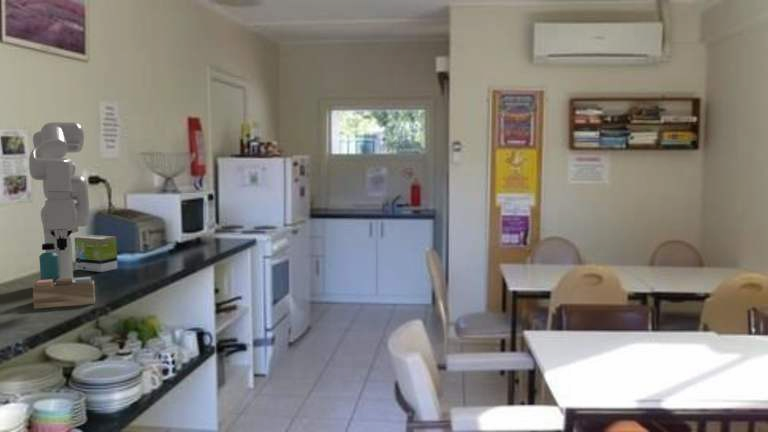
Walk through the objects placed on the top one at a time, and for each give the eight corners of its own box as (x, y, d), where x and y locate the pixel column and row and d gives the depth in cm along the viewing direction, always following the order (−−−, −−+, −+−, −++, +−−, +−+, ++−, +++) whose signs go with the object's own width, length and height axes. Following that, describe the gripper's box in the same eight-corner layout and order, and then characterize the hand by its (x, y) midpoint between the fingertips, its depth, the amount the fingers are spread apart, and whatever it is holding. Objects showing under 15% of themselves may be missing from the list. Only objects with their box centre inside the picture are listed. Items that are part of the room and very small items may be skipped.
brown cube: (58, 293, 241) (57, 278, 241) (72, 292, 243) (71, 278, 242) (56, 295, 237) (55, 281, 236) (71, 294, 238) (70, 280, 238)
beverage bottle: (53, 301, 245) (50, 244, 243) (36, 300, 246) (33, 244, 244) (65, 297, 251) (62, 242, 249) (49, 297, 252) (46, 241, 250)
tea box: (75, 270, 309) (73, 237, 307) (92, 266, 318) (90, 234, 317) (101, 272, 303) (100, 238, 302) (118, 268, 312) (117, 235, 311)
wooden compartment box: (36, 304, 240) (35, 284, 240) (95, 300, 246) (94, 280, 246) (33, 308, 234) (32, 287, 233) (94, 303, 240) (93, 283, 239)
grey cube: (77, 291, 243) (76, 277, 243) (91, 290, 245) (90, 276, 244) (76, 294, 239) (75, 280, 238) (90, 293, 240) (89, 279, 240)
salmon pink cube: (38, 294, 239) (38, 280, 239) (53, 293, 241) (52, 279, 240) (37, 297, 235) (36, 282, 234) (52, 296, 236) (51, 281, 236)
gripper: (84, 194, 243) (86, 247, 245) (36, 195, 238) (39, 249, 240) (82, 196, 236) (85, 250, 238) (33, 197, 231) (36, 252, 233)
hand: (62, 249), depth 239 cm, fingers closed
